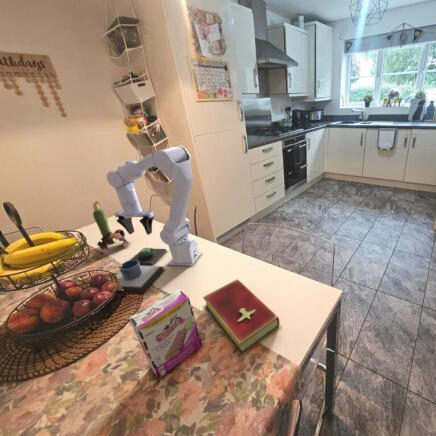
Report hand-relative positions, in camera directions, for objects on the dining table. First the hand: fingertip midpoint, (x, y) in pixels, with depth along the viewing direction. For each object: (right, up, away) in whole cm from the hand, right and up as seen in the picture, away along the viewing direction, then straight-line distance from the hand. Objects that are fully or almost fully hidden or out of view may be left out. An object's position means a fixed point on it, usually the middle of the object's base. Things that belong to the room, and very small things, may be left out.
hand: (140, 233), depth 97 cm
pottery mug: (-17, -7, +11) cm, 21 cm away
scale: (+5, -16, -11) cm, 20 cm away
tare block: (+2, -10, +1) cm, 11 cm away
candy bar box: (+32, -28, -37) cm, 56 cm away
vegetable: (-23, +4, +10) cm, 25 cm away
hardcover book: (+45, -22, -26) cm, 57 cm away
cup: (+5, -14, -12) cm, 19 cm away
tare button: (+2, -8, 0) cm, 8 cm away
